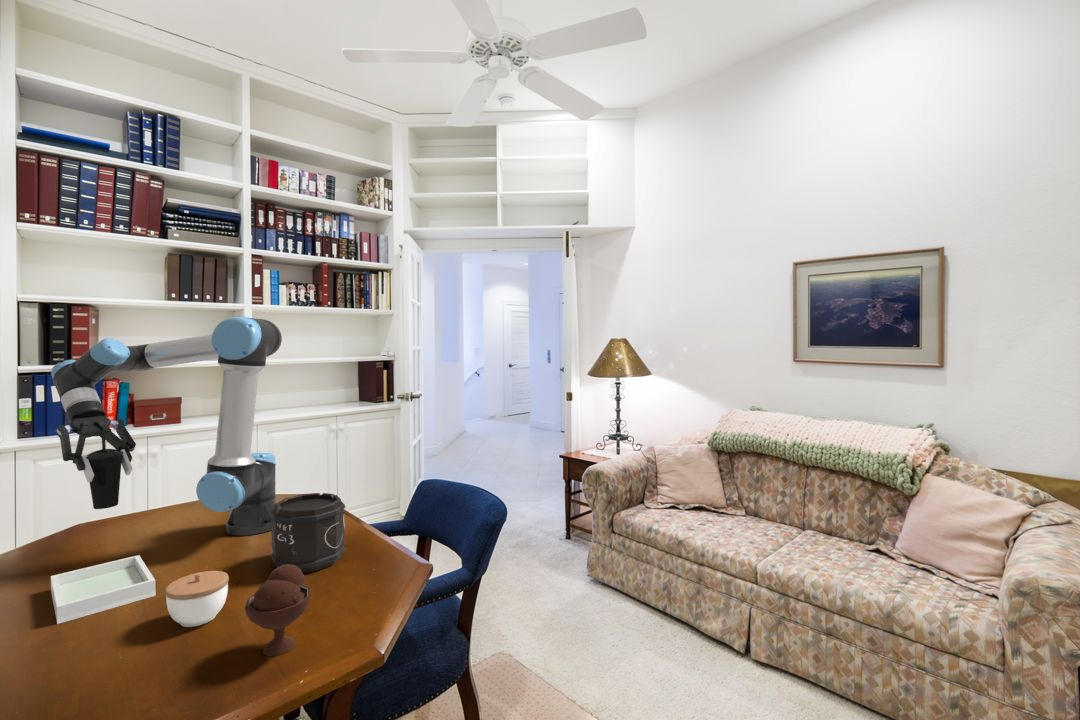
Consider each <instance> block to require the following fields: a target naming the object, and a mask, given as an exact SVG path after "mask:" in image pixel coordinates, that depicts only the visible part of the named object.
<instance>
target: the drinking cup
mask: <svg viewBox="0 0 1080 720" xmlns="http://www.w3.org/2000/svg"><path fill="white" fill-rule="evenodd" d="M122 454H123V451H119V450H116V449H115V448H107V447H106V440H105V429H102V438H101V449H97V450H95V451H92V452H90V453H89V454H86V455H87V457H86V458H87V459H88V460H89V463H90V465H91V468H92V470H93V473H94V477H93V479H92V482H89V487H90V493H91V495H90V496H91V500H92V507H93V508H92V509H94V510H102V509H103V510H104V509H110V508H115V507H117V506H119V497H120V487H121V486H120V484H121V471H122V464H121V462H122Z"/></svg>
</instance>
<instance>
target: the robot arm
mask: <svg viewBox="0 0 1080 720" xmlns="http://www.w3.org/2000/svg"><path fill="white" fill-rule="evenodd" d="M282 341H283V338H282V333H281V331H280V329H279V327H278V326H277V325H276V324H275V323H274V322H272V321H270V320H267V319H262V318H254V317H253V318H252V317H249V316H234V317H233V316H232V317H229V318H225V319H224V320H223V321H220V322H219V323H218V324H217V325H216V326H215V328H214V330H213V332H212V333H211V334H207V335H199V336H193V337H186V338H179V339H174V340H173V339H172V340H165V341H159V342H153V343H144V344H138V345H126V344H125V343H124V342H122V341H120V340H118V339H115V338H113V337H105V338H103V339H102V340H100V341H99V342H97V343H95V344H94V345H92V346H91V348H89V349H88V350H87V351H85V352H84V353H83V354H82V355H81V356H79V358H77V359H66V360H63V361H62V362H58V363H56V364H55V365H53V366H52V368H51V370H50V373H51V378H52V383H53V386H54V387H55V388H56V392H57V394H58V397H59V398H60V402H61V404H62V405H61V406H62V407H63V410H64V412H65V415H66V418H67V421H68V423H69V424H68V425H64V424H59V425H58V426H57V429H56V432H55V433H56V435H57V437H59V441H60V447H61V448H60V449H61V453H62V454H61V455H62V461H64V462H69V461H72V463H73V464H75V466H76V469H77V470H78V471H79V472H81V471H83V475H84V477H85V479H86V481H87V483H90V482H92V479H93V477H94V473H93V470H92V468H91V465H90V463H89V460H88V459H87V458H86V457H87V455H88V454H84V455H83V451H84V448H85V443H86V439H88V438H92V437H99V438H100V439H102V429H105V442H107V443H108V444H109V445H111V447H113V449H115V450H119V451H123V454H122V462H121V467H122V469H123V471H124V474H125V476H129V475H131V473H132V470H133V466H132V464H131V462H132V460H133V456H132V452H133V451H134V450H135V448H136V446H137V443H136V442H135V440H134V438H133V437H132V435H131V434H130V432H129V430H128V429H127V428H126V426H125V421H124V419H122V418H119V419H118V420H111V419H110V418H109V417H108V416H107V413H106V410H105V409H104V406H103V404H102V401H101V399H100V397H99V395H98V393H97V392H98V391H97V390H96V386H95V385H96V384H97V383H99V382H100V381H101V380H103V379H104V378H105V377H106V376H108V375H109V374H111V373H118V372H137V371H138V372H143V371H149V370H152V369H155V368H156V369H157V368H164V367H170V366H171V367H172V366H177V365H184V364H189V363H195V362H203V361H210V360H217V365H219V367H221V368H222V370H223V372H222V383H221V393H220V401H219V402H220V403H219V410H218V411H219V413H218V422H217V432H216V440H215V448H214V449H215V451H214V455H213V456H211V457H210V458H209V459H207V464H206V473H205V474H204V475H203V476H202V477H201V478H200V479H199V480H198V482H197V483H196V490H195V493H196V497H197V499H198V501H199V502H200V503H201V504H202V505H203V506H204V508H206V509H208V510H210V511H212V512H215V513H216V512H217V513H223V512H228V511H230V512H229V515H228V518H227V521H226V525H225V528H226V529H225V531H226V533H227V534H229V535H232V536H249V535H251V536H252V535H258V534H262V533H266V532H269V531H272V528H271V524H272V516H271V511H272V510H273V509H274V507H275V504H277V503H278V502H277V499H276V465H277V463H276V456H275V455H274V454H273V453H271V452H251V450H252V440H253V429H254V422H255V421H254V420H255V411H256V404H257V403H256V402H257V394H258V392H257V391H258V385H259V383H258V382H259V373H260V371H262V370H263V369H264V368H266V365H267V364H266V363H267V357H270V356H272V355H274V354H275V353H276V352H277V351H278V350H279V349H280V348H281V345H282ZM110 426H111V427H112V428H113V430H115V432H116V434H115V433H114V432H113V431H112V429H111V428H110ZM70 432H73V433H74V434H76V435H78V440H77V443H76V447H75V451H74V452H73V451H72V445H71V440H70V439H71V438H70ZM117 435H118V436H117Z"/></svg>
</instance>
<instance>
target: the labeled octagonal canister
mask: <svg viewBox="0 0 1080 720" xmlns="http://www.w3.org/2000/svg"><path fill="white" fill-rule="evenodd" d="M344 509H346V504H345V503H344V502H343V501H342V499H341V498H340V497H339V496H338V495H337V494H334V493H327V492H322V494H321V493H320V492H314V493H302V494H301V493H300V494H297V495H294V496H290V497H286V498H285V497H284V498H283V499H282V500H280V501H278V502H277V504H275V507H274V509H273V510H272V511H271V516H272V524H271V528H272V530H271V550H272V553H271V555H270V557H271V560H272V561H273V564H274V567H276V568H277V567H279V566H281V565H286V564H292V565H295V566H297V567H298V568H299V569H301V571H302V573H303V574H305V573H307V574H308V573H313V572H314V573H315V572H318V571H320V570H323V569H326V568H328V567H331V566H334V565H335V564H336V563H337V562H338V561H339V560H340V559H341V557H342V556H343V553H344V552H345V551H346V547H347V546H346V545H345V536H346V535H345V534H346V532H345V531H346V528H345V527H346V525H345V524H346V521H345V514H344V513H345V512H344Z"/></svg>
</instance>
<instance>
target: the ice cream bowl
mask: <svg viewBox="0 0 1080 720" xmlns="http://www.w3.org/2000/svg"><path fill="white" fill-rule="evenodd" d="M304 574H305V573H302V571H301V569H299V568H298V567H297V566H295V565H292V564H286V565H281V566H279V567H277V566H276V568H274V569H273V570H272V571H271V572H270V574H269V575H268V579H267V580H265V582H263V583H262V584H261V586H259V588H258V589H257V590H256V592H254V594H253V595H251V596H250V597H248V598H247V600H246V603H245V606H244V610H245V614H246V616H247V618H248V619H249V621H251V622H252V623H253V624H254V625H257V626H258V627H260V628H263V629H265V630H270V631H273V633H274V635H273V638H272V639H271V640H270V641H268V642H266V644H264V647H263V650H262V654H263V655H264V656H266V657H278V656H282V655H284V654H287V653H289V652H290V651H292V650H293V649H294V648H295V647H296V639H295V638H293V637H291V636H289V635H288V636H287V635H285V629H286V627H288V626H290V625H291V624H292V623H294V622H295V621H296V620H297V619H299V618H300V617H301V616H302V615H303V614H304V613H305V612H306V610H307V608H308V606H309V603H310V599H311V587H308V586H306V585H303V583H304V581H305V578H306V576H305V575H304Z"/></svg>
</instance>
